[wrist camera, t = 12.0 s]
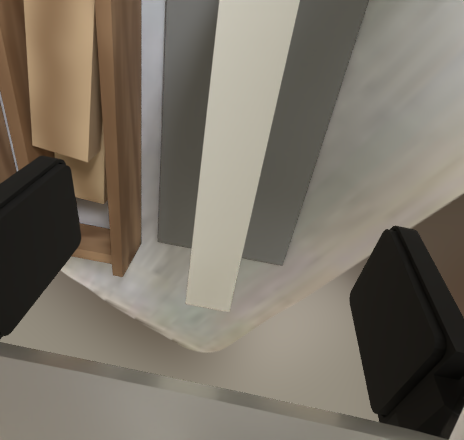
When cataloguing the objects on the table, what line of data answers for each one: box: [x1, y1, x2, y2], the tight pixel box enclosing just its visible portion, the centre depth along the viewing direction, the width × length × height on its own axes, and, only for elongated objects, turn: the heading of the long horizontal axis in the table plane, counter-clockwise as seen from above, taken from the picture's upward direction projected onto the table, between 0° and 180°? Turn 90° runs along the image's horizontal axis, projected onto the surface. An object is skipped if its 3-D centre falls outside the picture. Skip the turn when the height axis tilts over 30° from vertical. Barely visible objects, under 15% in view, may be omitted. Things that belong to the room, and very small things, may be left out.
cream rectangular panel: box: [185, 0, 300, 312], centre depth 22 cm, size 3×22×13 cm, turn 171°
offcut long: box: [55, 122, 108, 204], centre depth 26 cm, size 4×24×3 cm, turn 167°
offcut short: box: [24, 0, 103, 162], centre depth 24 cm, size 4×12×2 cm, turn 164°
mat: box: [158, 0, 369, 266], centre depth 27 cm, size 14×34×1 cm, turn 171°
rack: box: [0, 0, 141, 277], centre depth 25 cm, size 14×36×6 cm, turn 171°
